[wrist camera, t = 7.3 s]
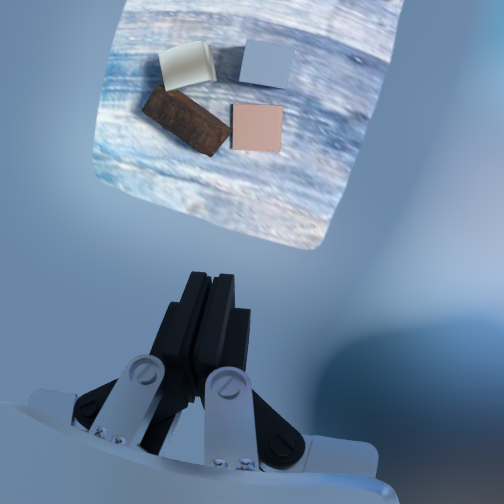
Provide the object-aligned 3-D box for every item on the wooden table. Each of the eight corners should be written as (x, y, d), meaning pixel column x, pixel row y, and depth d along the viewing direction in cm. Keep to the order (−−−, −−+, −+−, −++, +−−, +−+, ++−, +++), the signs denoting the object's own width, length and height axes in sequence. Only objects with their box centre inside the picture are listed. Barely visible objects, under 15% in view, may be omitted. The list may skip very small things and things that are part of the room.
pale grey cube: (173, 56, 27) (158, 52, 23) (211, 46, 26) (200, 39, 22) (179, 90, 30) (165, 91, 26) (217, 81, 29) (208, 80, 25)
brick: (154, 107, 31) (138, 111, 27) (170, 84, 29) (156, 84, 25) (215, 152, 34) (208, 161, 31) (234, 129, 33) (229, 135, 29)
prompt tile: (233, 103, 30) (233, 104, 30) (282, 105, 30) (282, 105, 30) (233, 148, 34) (232, 149, 33) (280, 151, 34) (280, 152, 33)
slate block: (250, 46, 26) (246, 39, 22) (291, 53, 26) (294, 47, 22) (243, 82, 29) (238, 81, 25) (284, 89, 29) (286, 89, 25)
